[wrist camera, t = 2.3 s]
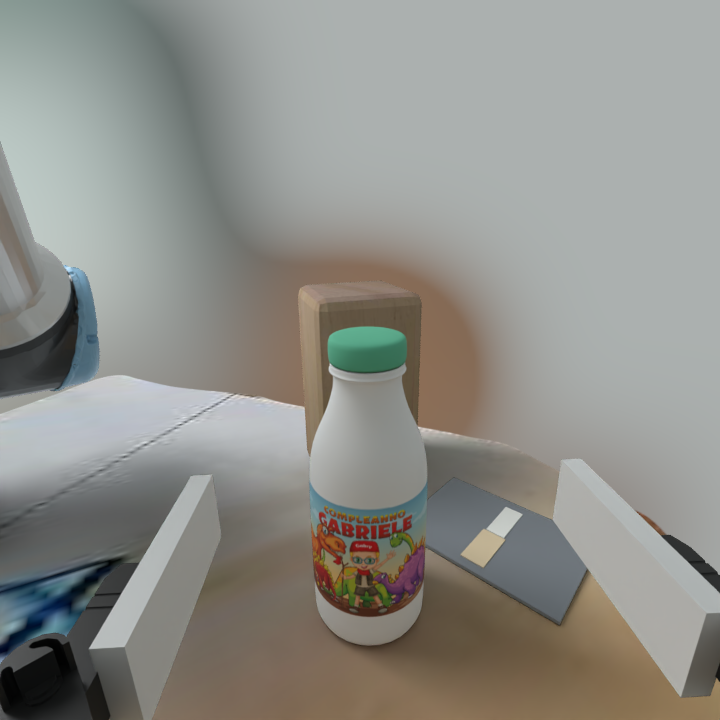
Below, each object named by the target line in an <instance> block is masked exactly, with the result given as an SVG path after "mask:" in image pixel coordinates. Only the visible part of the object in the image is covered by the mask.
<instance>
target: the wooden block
mask: <svg viewBox="0 0 720 720" xmlns="http://www.w3.org/2000/svg"><path fill="white" fill-rule="evenodd" d="M298 303H299V320H300V336H301V353H302V369H303V385H304V401H305V419H306V435H307V450H308V453H309V456H310V455H311V449H312V444H313V441H314V437H315V434H316V432H317V429H318V427H319V424H320V422H321V420H322V418H323V416H324V413H325V411H326V408H327V406H328V403H329V399H330V396H331V392H332V387H333V375H332V374H330V372H329V366H330V362H329V359H328V339H329V336H330V335H331V334H333V333H334V332H336V331H339V330H342V329H347V328H353V327H384V328H389V329H394V330H397V331H399V332H401V333H403V334H404V335H405V337H406V340H407V357H406V361H405V366H406V372H405V373H404V374H403V375H402V385H403V390H404V394H405V398H406V401H407V404H408V406H409V409H410V411H411V414H412V416H413V418H414V420H415V422H416V424H417V426H418V396H419V367H420V336H421V307H422V305H421V300H420V297H419V295H418V294H415V293H413V292H410V291H407V290H405V289H402V288H399V287H397V286H394V285H391V284H388V283H386V282H383V281H367V282H349V283H331V284H315V285H306V286H304V287H302V288H300V291H299V294H298Z"/></svg>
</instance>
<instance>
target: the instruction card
mask: <svg viewBox="0 0 720 720" xmlns="http://www.w3.org/2000/svg"><path fill="white" fill-rule="evenodd" d="M425 547H427V548H428V549H430V550H432V551H433V552H435V553H437V554H439V555H440V556H442V557H444V558H445V559H447V560H449V561H450V562H452V563H454V564H456V565H457V566H459V567H461V568H462V569H464V570H466V571H468V572H469V573H471V574H473V575H474V576H476V577H478V578H479V579H481V580H483V581H485V582H486V583H488V584H490V585H491V586H493V587H495V588H497V589H498V590H500V591H502V592H503V593H505V594H507V595H508V596H510V597H512V598H514V599H515V600H517V601H519V602H520V603H522V604H524V605H526V606H527V607H529V608H531V609H532V610H534V611H536V612H537V613H539V614H541V615H543V616H544V617H546V618H548V619H549V620H551V621H553V622H555V623H556V624H558V625H560V624H561V622H562V620H563V618H564V616H565V614H566V612H567V610H568V608H569V606H570V604H571V602H572V600H573V598H574V596H575V594H576V591H577V589H578V587H579V585H580V583H581V581H582V579H583V577H584V575H585V573H586V571H587V569H588V568H587V567H586V566H585V564H584V563H583V561H582V560H581V559H580V557H579V556H578V554H577V553H576V552H575V550H574V549H573V548H572V546H571V545H570V543H569V542H568V541H567V539H566V538H565V536H564V535H563V534H562V532H561V531H560V529H559V528H558V527H557V525H556V524H555V523H554V521H553V520H551V519H548V518H546V517H544V516H542V515H539V514H537V513H535V512H532V511H530V510H528V509H526V508H523V507H521V506H519V505H516V504H514V503H512V502H510V501H507V500H505V499H503V498H500V497H498V496H496V495H493V494H491V493H489V492H487V491H484V490H482V489H480V488H477V487H475V486H473V485H471V484H468V483H466V482H464V481H461V480H459V479H457V478H455V477H453V478H452V479H451V480H450V481H449V482H448V483H446V484H445V485H444V486H443V487H442V488H440V489H439V490H438V491H437V492H436V493H435V494H433V495H432V496H431V497H430V498H429V499H427V516H426V542H425Z"/></svg>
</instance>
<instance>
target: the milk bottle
mask: <svg viewBox="0 0 720 720" xmlns="http://www.w3.org/2000/svg"><path fill="white" fill-rule="evenodd" d="M406 357H407V340H406V337H405V335H404V334H403V333H401V332H399V331H397V330H394V329H389V328H384V327H353V328H347V329H342V330H339V331H336V332H334V333H333V334H331V335H330V336H329V339H328V359H329V362H330V366H329V372H330V374H332V375H333V387H332V392H331V396H330V399H329V403H328V406H327V408H326V411H325V413H324V416H323V418H322V420H321V422H320V424H319V427H318V429H317V432H316V434H315V437H314V441H313V444H312V449H311V455H310V466H309V474H310V509H311V529H312V547H313V563H314V579H315V593H316V602H317V608H318V611H319V614H320V616H321V618H322V619H323V621H324V622H325V624H326V625H327V626H328V627H329V629H330V630H331V631H333V632H334V633H335V634H336V635H337V636H338V637H340V638H342V639H344V640H346V641H348V642H351V643H355V644H358V645H367V646H372V645H381V644H385V643H389V642H391V641H393V640H395V639H397V638H399V637H401V636H402V635H403V634H404V633H406V632H407V631H408V630H409V629H410V627H411V626H412V625H413V624H414V622H415V621H416V619H417V618H418V616H419V613H420V611H421V607H422V600H423V586H424V565H425V542H426V516H427V460H426V452H425V447H424V443H423V440H422V437H421V434H420V431H419V429H418V426H417V424H416V422H415V420H414V418H413V416H412V414H411V411H410V409H409V406H408V404H407V401H406V398H405V394H404V390H403V385H402V375H403V374H404V373H405V372H406V366H405V361H406Z"/></svg>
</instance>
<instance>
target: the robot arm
mask: <svg viewBox="0 0 720 720" xmlns="http://www.w3.org/2000/svg"><path fill="white" fill-rule="evenodd" d="M99 356H100V355H99V341H98V337H97V320H96V312H95V306H94V302H93V296H92V292H91V288H90V284H89V281H88V278H87V276H86V274H85V273H84V272H83V271H82V270H80V269H79V268H75V267H68V266H66V265H65V266H63V265H62V263H61V261H60V260H59V259H58V258H57V257H56V256H55V255H54V254H53V253H52V252H50V251H49V250H48V249H46V248H45V247H43V246H41V245H40V244H38V243H36V242H35V241H34V238H33V235H32V232H31V229H30V227H29V223H28V220H27V218H26V215H25V212H24V209H23V206H22V203H21V200H20V197H19V194H18V192H17V189H16V186H15V183H14V180H13V177H12V174H11V171H10V169H9V166H8V163H7V160H6V157H5V154H4V151H3V148H2V145H1V143H0V399H3V398H8V397H14V396H20V395H25V394H31V393H36V392H42V391H48V390H50V391H59V390H61V389H64V388H65V387H68V386H72V385H76V384H81V383H85V382H87V381H90V380H91V379H92V378H93V377H94V376H95V375H96V373H97V371H98V368H99ZM553 521H554V523H555V524H556V525H557V527H558V528H559V529H560V531H561V532H562V534H563V535H564V536H565V538H566V539H567V541H568V542H569V543H570V545H571V546H572V548H573V549H574V550H575V552H576V553H577V554H578V556H579V557H580V559H581V560H582V561H583V563H584V564H585V566H586V567H587V568H588V570H589V571H590V572H591V574H592V575H593V577H594V578H595V579H596V581H597V582H598V584H599V585H600V586H601V588H602V589H603V591H604V592H605V593H606V595H607V596H608V597H609V599H610V600H611V602H612V603H613V604H614V606H615V607H616V609H617V610H618V611H619V613H620V614H621V615H622V617H623V618H624V620H625V621H626V622H627V624H628V625H629V627H630V628H631V629H632V631H633V632H634V634H635V635H636V636H637V638H638V639H639V640H640V642H641V643H642V645H643V646H644V647H645V649H646V650H647V652H648V653H649V654H650V656H651V657H652V658H653V660H654V661H655V663H656V664H657V665H658V667H659V668H660V670H661V671H662V672H663V674H664V675H665V677H666V678H667V679H668V681H669V682H670V683H671V685H672V686H673V688H674V689H675V690H676V692H677V693H678V695H679V696H680V697H681V698H683V697H698V696H710V695H711V692H712V689H713V686H714V683H715V680H716V678H717V679H718V680H719V681H720V575H718V573H717V571H716V570H714V569H713V568H712V567H711V566H710V565H709V564H708V563H705V560H704V559H703V558H702V557H700V556H699V555H698V554H697V553H696V552H695V551H694V550H693V549H692V548H691V547H689V546H688V545H686V544H684V543H683V542H681V541H679V540H678V539H676V538H674V537H673V536H671V535H659V534H658V533H657V532H656V531H655V530H654V529H653V528H652V527H651V526H650V525H649V524H648V523H647V522H646V521H645V520H644V519H643V518H642V517H641V516H640V515H639V514H638V513H637V512H636V511H635V510H633V509H632V508H631V507H630V506H629V505H628V504H627V503H626V502H625V501H624V500H623V499H622V498H621V497H620V496H619V495H618V494H617V493H616V492H615V491H614V490H613V489H612V488H611V487H610V486H609V485H608V484H607V483H606V482H605V481H604V480H603V479H601V478H600V477H599V476H598V475H597V474H596V473H595V472H594V471H593V470H592V469H591V468H590V467H589V466H588V465H587V464H586V463H585V462H584V461H583V460H582V459H563V460H561V466H560V473H559V479H558V486H557V493H556V500H555V507H554V514H553ZM221 536H222V535H221V528H220V521H219V515H218V508H217V501H216V495H215V488H214V481H213V475H191V477H190V479H189V481H188V482H187V484H186V486H185V487H184V489H183V491H182V492H181V494H180V496H179V497H178V499H177V501H176V502H175V504H174V506H173V508H172V509H171V511H170V513H169V514H168V516H167V518H166V519H165V521H164V523H163V524H162V526H161V528H160V530H159V531H158V533H157V535H156V536H155V538H154V540H153V541H152V543H151V545H150V546H149V548H148V550H147V551H146V553H145V555H144V557H143V558H142V560H141V562H140V563H125V564H121V565H120V566H119V567H117V568H116V569H115V570H114V571H113V572H112V573H111V574H109V575H108V576H107V577H106V578H105V579H104V581H103V582H102V584H101V585H100V587H99V588H98V590H97V591H96V593H95V596H94V597H92V599H91V600H90V602H89V603H88V605H87V606H86V610H85V611H83V612H82V614H81V615H80V617H79V618H78V620H77V621H76V623H75V625H74V626H73V628H72V629H71V631H70V632H69V634H68V635H67V637H66V636H65V635H62V634H58V633H50V634H43V635H41V636H38V637H36V638H33V639H31V640H28V641H27V642H25V643H24V644H22V645H21V646H19V647H18V648H16V649H15V650H14V651H12V652H11V653H10V654H9V655H8V656H7V657H6V658H5V659H4V660H3V661H2V662H1V664H0V720H109V719H110V720H152V718H153V715H154V713H155V710H156V707H157V705H158V702H159V700H160V697H161V694H162V692H163V689H164V686H165V684H166V681H167V678H168V676H169V673H170V671H171V668H172V665H173V663H174V660H175V657H176V655H177V652H178V650H179V647H180V644H181V642H182V639H183V636H184V634H185V631H186V628H187V626H188V623H189V621H190V618H191V615H192V613H193V610H194V607H195V605H196V602H197V600H198V597H199V594H200V592H201V589H202V586H203V584H204V581H205V578H206V576H207V573H208V571H209V568H210V565H211V563H212V560H213V557H214V555H215V552H216V550H217V547H218V544H219V542H220V539H221Z"/></svg>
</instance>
